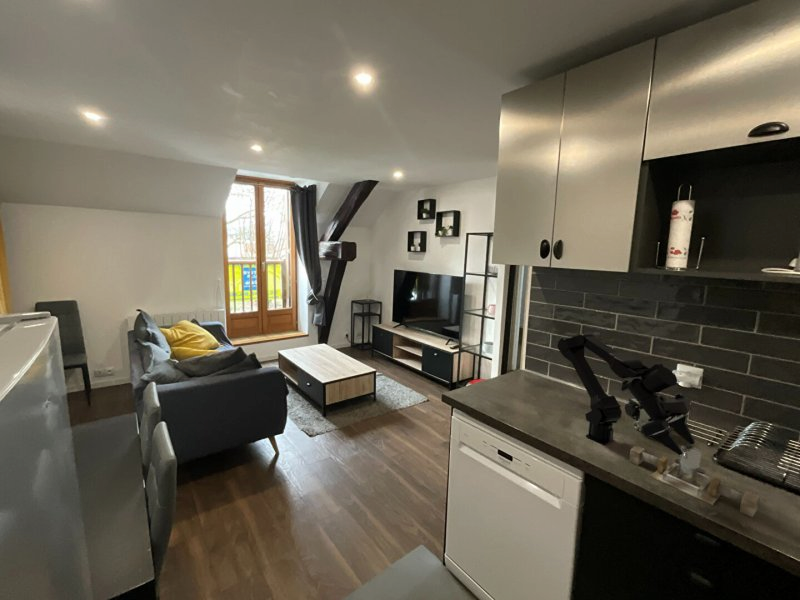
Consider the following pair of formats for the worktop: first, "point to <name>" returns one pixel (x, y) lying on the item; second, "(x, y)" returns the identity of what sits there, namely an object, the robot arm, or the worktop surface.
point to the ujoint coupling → (689, 464)
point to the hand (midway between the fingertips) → (687, 448)
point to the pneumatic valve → (636, 413)
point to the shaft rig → (705, 486)
